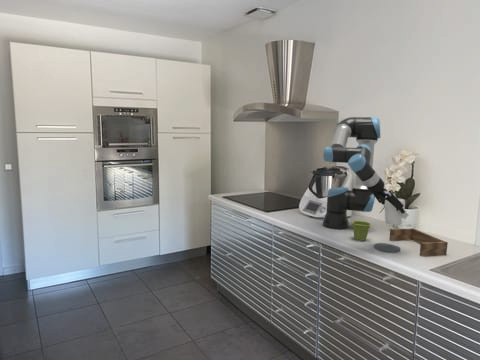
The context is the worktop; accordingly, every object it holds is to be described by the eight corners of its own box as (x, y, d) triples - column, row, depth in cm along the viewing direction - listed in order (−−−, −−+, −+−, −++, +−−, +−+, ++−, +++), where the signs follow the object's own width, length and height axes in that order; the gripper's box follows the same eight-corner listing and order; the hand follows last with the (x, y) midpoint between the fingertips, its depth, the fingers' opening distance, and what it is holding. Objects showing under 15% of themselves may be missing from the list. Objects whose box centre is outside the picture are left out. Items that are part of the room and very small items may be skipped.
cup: (404, 226, 165) (407, 201, 163) (384, 224, 167) (386, 199, 166) (401, 222, 173) (403, 198, 172) (381, 220, 176) (384, 196, 174)
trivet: (373, 243, 179) (373, 242, 179) (398, 246, 175) (398, 245, 175) (374, 250, 168) (374, 249, 168) (401, 253, 164) (401, 252, 164)
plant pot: (370, 238, 188) (371, 222, 187) (368, 243, 179) (369, 226, 178) (352, 235, 192) (353, 220, 191) (349, 240, 183) (350, 223, 182)
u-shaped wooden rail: (420, 256, 162) (422, 243, 161) (389, 240, 185) (390, 229, 184) (446, 254, 164) (447, 242, 164) (411, 239, 188) (412, 228, 187)
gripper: (355, 184, 175) (380, 214, 181) (381, 191, 154) (409, 226, 160) (365, 173, 176) (390, 204, 181) (393, 179, 155) (420, 214, 160)
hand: (399, 214), depth 170 cm, fingers closed on cup, 9 cm apart
